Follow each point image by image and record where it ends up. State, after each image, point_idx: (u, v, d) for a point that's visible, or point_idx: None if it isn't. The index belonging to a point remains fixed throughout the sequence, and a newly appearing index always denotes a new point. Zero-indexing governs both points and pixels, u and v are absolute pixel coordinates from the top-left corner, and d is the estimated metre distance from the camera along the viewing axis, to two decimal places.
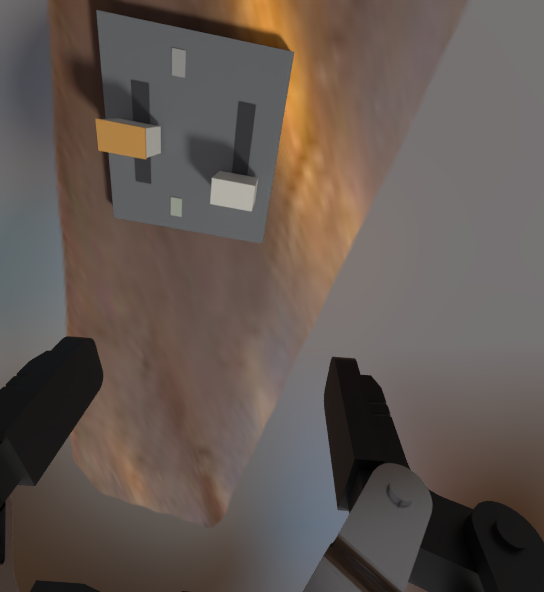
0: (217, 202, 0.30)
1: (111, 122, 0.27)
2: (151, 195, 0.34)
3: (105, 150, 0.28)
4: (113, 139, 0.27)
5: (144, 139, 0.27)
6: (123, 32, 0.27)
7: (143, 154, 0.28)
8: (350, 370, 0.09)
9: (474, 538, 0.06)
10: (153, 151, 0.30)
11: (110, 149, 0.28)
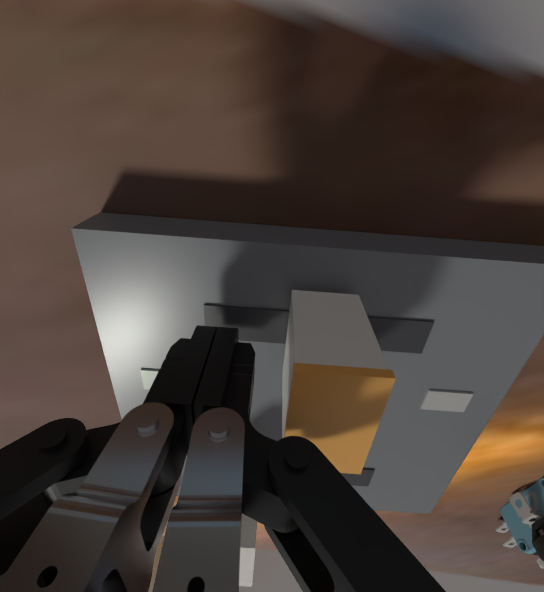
0: None
1: (379, 413, 0.08)
2: (176, 334, 0.13)
3: (296, 389, 0.08)
4: (329, 406, 0.08)
5: None
6: (524, 316, 0.12)
7: None
8: (227, 337, 0.10)
9: (275, 481, 0.07)
10: None
11: (300, 402, 0.08)
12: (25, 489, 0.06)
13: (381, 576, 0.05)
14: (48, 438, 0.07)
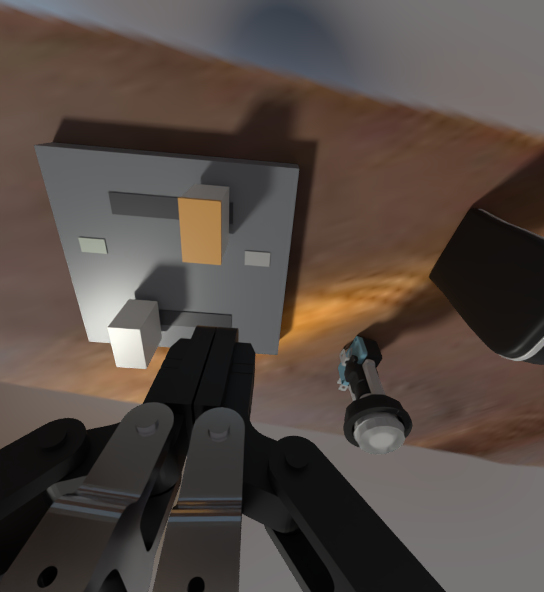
0: (112, 334, 0.24)
1: (219, 223, 0.19)
2: (95, 212, 0.24)
3: (180, 208, 0.19)
4: (198, 220, 0.19)
5: (207, 262, 0.20)
6: (280, 199, 0.23)
7: (188, 260, 0.20)
8: (227, 337, 0.10)
9: (275, 481, 0.07)
10: None
11: (183, 216, 0.19)
12: (26, 488, 0.06)
13: (381, 576, 0.05)
14: (48, 438, 0.07)
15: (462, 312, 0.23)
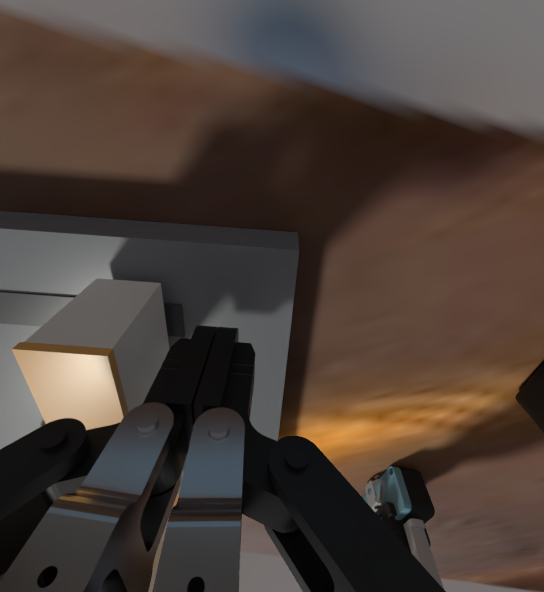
0: None
1: (115, 390, 0.09)
2: None
3: (23, 367, 0.08)
4: (70, 384, 0.09)
5: None
6: (265, 299, 0.13)
7: None
8: (227, 337, 0.10)
9: (275, 482, 0.07)
10: None
11: (34, 380, 0.09)
12: (26, 488, 0.06)
13: (381, 576, 0.05)
14: (48, 438, 0.07)
15: None
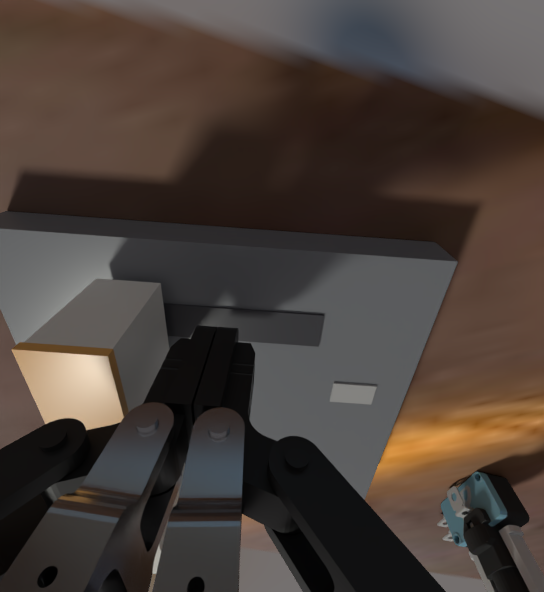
0: None
1: (115, 391, 0.09)
2: None
3: (23, 367, 0.08)
4: (70, 384, 0.09)
5: None
6: (409, 309, 0.13)
7: None
8: (227, 337, 0.10)
9: (275, 481, 0.07)
10: None
11: (34, 380, 0.09)
12: (26, 488, 0.06)
13: (381, 576, 0.05)
14: (48, 438, 0.07)
15: None
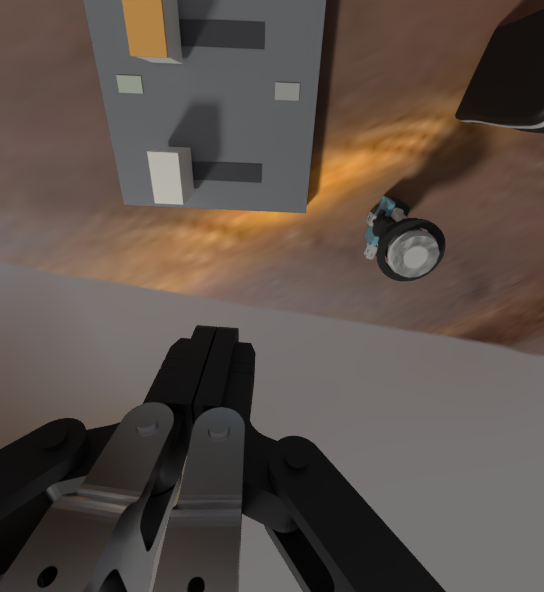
0: (151, 161, 0.25)
1: (160, 2, 0.20)
2: None
3: None
4: (140, 1, 0.20)
5: (154, 55, 0.21)
6: (309, 16, 0.24)
7: (135, 52, 0.21)
8: (227, 337, 0.10)
9: (275, 481, 0.07)
10: (147, 59, 0.23)
11: None
12: (26, 488, 0.06)
13: (381, 576, 0.05)
14: (48, 438, 0.07)
15: (493, 115, 0.23)
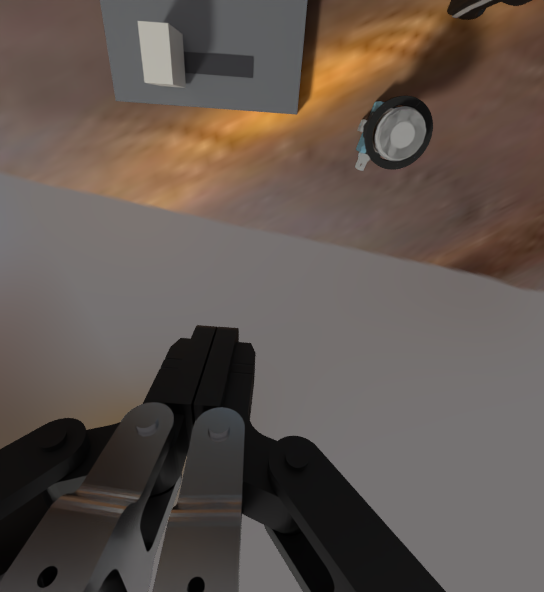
0: (142, 32, 0.25)
1: None
2: None
3: None
4: None
5: None
6: None
7: None
8: (227, 337, 0.10)
9: (275, 481, 0.07)
10: None
11: None
12: (26, 488, 0.06)
13: (381, 576, 0.05)
14: (48, 438, 0.07)
15: None
